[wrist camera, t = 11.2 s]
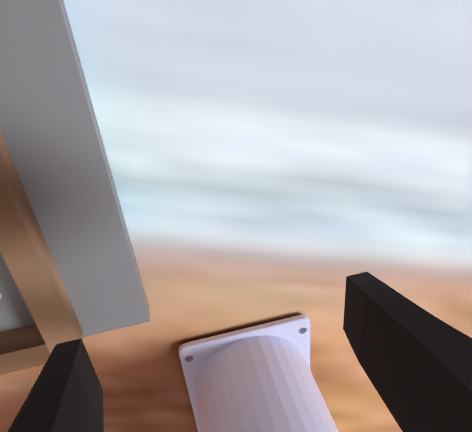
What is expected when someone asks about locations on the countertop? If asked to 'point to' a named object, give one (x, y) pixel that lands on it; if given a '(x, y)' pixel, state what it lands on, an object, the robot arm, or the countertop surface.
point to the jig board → (55, 197)
